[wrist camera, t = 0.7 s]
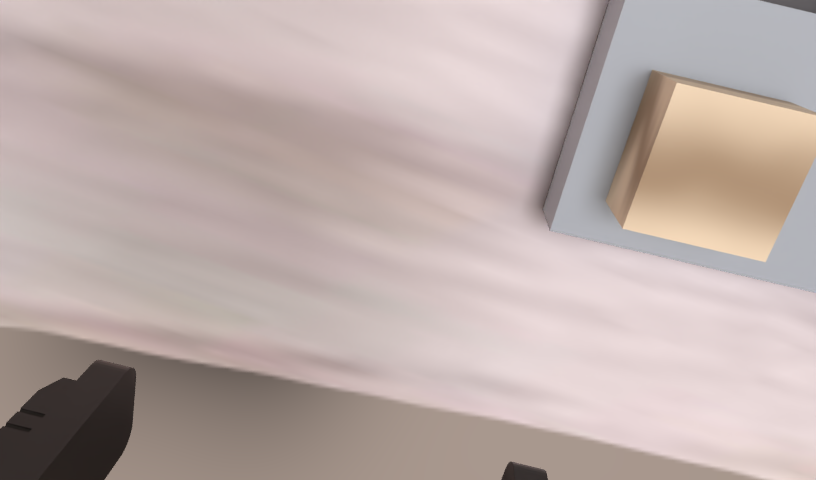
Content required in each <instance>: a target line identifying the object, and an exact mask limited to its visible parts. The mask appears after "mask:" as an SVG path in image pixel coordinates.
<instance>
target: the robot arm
mask: <svg viewBox="0 0 816 480" xmlns="http://www.w3.org/2000/svg"><path fill="white" fill-rule="evenodd" d="M135 382H136V371H135V369H134V368H131V367H126V366H123V365H119V364H114V363H110V362H106V361H102V360H96V361H95V362H94V363H93V364H92V365H91V366H90V367H89V368H88V369H87V370H86V371H85V372H84V373H83V374H82V375H81V376H80V378H79V379H78V380H77V381H75V380H71V379H67V378H62V379H60V380H58V381H56V382H54V383H52V384H50V385H48V386H46V387H44V388H42V389H40V390H38V391H37V392H36V393H35V394H34V395H33V396H32V397H31V399H30V400H28V402H26V403H25V404H24V405H23V406H22V407H21V410H20V412H17V413H16V414H15V415H14V416H13V417H12V418H11V419H10V420H9V421H8V422H7V423H6V426H5V427H4V426H3V427H2V428H1V429H0V480H104V479H105V478H106V477H107V475H108V474H109V472H110V471H111V469H112V468H113V466H114V465H115V464H116V462H117V461H118V459H119V458H120V456H121V455H122V453H123V451H124V449H125V447H126V445H127V442H128V440H129V437H130V433H131V430H132V422H133V410H134V396H135ZM502 480H548V478H547V473H546V471H545V470H543V469H539V468H535V467H531V466H527V465H523V464H519V463H515V462H509V463H508V465H507V467H506V469H505V472H504V475H503V477H502Z"/></svg>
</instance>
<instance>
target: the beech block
mask: <svg viewBox="0 0 816 480" xmlns="http://www.w3.org/2000/svg"><path fill="white" fill-rule="evenodd" d="M815 157H816V112H814V111H811V110H809V109H806V108H804V107H801V106H799V105H796V104H794V103H791V102H787V101H783V100H779V99H775V98H770V97H766V96H762V95H758V94H753V93H749V92H745V91H741V90H736V89H732V88H728V87H724V86H719V85H715V84H711V83H707V82H703V81H698V80H694V79H690V78H686V77H681V76H677V75H673V74H669V73H664V72H660V71H656V70H652V72H651V75H650V77H649V80H648V83H647V86H646V89H645V91H644V94H643V97H642V100H641V103H640V106H639V108H638V111H637V114H636V117H635V120H634V122H633V125H632V128H631V131H630V134H629V136H628V139H627V142H626V145H625V148H624V151H623V153H622V156H621V159H620V162H619V165H618V167H617V170H616V173H615V176H614V179H613V181H612V184H611V187H610V190H609V193H608V195H607V198H606V203H607V204H608V206H609V208H610V209H611V211H612V213H613V214H614V216H615V217H616V219H617V221H618V222H619V224H620V226H621V227H622V229H626V230H630V231H634V232H638V233H643V234H647V235H651V236H656V237H660V238H664V239H668V240H673V241H677V242H681V243H685V244H690V245H694V246H698V247H703V248H707V249H711V250H715V251H720V252H724V253H728V254H733V255H737V256H741V257H745V258H750V259H754V260H758V261H762V262H766V260H767V258H768V256H769V254H770V252H771V250H772V248H773V246H774V243H775V241H776V239H777V237H778V235H779V233H780V231H781V229H782V227H783V225H784V222H785V220H786V218H787V216H788V214H789V212H790V210H791V208H792V206H793V203H794V201H795V199H796V197H797V195H798V193H799V191H800V189H801V187H802V185H803V182H804V180H805V178H806V176H807V174H808V172H809V170H810V168H811V166H812V164H813V161H814V159H815Z"/></svg>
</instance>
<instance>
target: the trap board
mask: <svg viewBox="0 0 816 480" xmlns="http://www.w3.org/2000/svg"><path fill="white" fill-rule="evenodd" d="M652 70H656V71H660V72H664V73H669V74H673V75H677V76H681V77H686V78H690V79H694V80H698V81H703V82H707V83H711V84H715V85H719V86H724V87H728V88H732V89H736V90H741V91H745V92H749V93H753V94H758V95H762V96H766V97H770V98H775V99H779V100H783V101H787V102H791V103H794V104H796V105H799V106H801V107H804V108H806V109H809V110H811V111H814V112H816V0H609V3H608V6H607V9H606V12H605V16H604V19H603V22H602V25H601V28H600V31H599V34H598V38H597V41H596V44H595V47H594V50H593V53H592V56H591V60H590V63H589V66H588V69H587V72H586V75H585V78H584V82H583V85H582V88H581V91H580V94H579V97H578V101H577V104H576V107H575V110H574V113H573V116H572V119H571V123H570V126H569V129H568V132H567V135H566V138H565V141H564V145H563V148H562V151H561V154H560V157H559V160H558V163H557V167H556V170H555V173H554V176H553V179H552V182H551V185H550V189H549V192H548V195H547V198H546V201H545V204H544V208H543V211H544V214H545V217H546V220H547V223H548V227H549V230H550V231H553V232H557V233H562V234H566V235H570V236H574V237H579V238H583V239H587V240H592V241H596V242H600V243H604V244H609V245H613V246H617V247H622V248H626V249H630V250H634V251H639V252H643V253H647V254H651V255H656V256H660V257H664V258H669V259H673V260H677V261H681V262H686V263H690V264H694V265H699V266H703V267H707V268H711V269H716V270H720V271H724V272H729V273H733V274H737V275H741V276H746V277H750V278H754V279H759V280H763V281H767V282H771V283H776V284H780V285H784V286H789V287H793V288H797V289H801V290H806V291H810V292H814V293H816V157H815V159H814V161H813V164H812V166H811V168H810V170H809V172H808V174H807V176H806V178H805V180H804V182H803V185H802V187H801V189H800V191H799V193H798V195H797V197H796V199H795V201H794V203H793V206H792V208H791V210H790V212H789V214H788V216H787V218H786V220H785V222H784V225H783V227H782V229H781V231H780V233H779V235H778V237H777V239H776V241H775V243H774V246H773V248H772V250H771V252H770V254H769V256H768V258H767V260H766V262H762V261H758V260H754V259H750V258H745V257H741V256H737V255H733V254H728V253H724V252H720V251H715V250H711V249H707V248H703V247H698V246H694V245H690V244H685V243H681V242H677V241H673V240H668V239H664V238H660V237H656V236H651V235H647V234H643V233H638V232H634V231H630V230H626V229H622V227H621V226H620V224H619V222H618V221H617V219H616V217H615V216H614V214H613V213H612V211H611V209H610V208H609V206H608V204H607V203H606V198H607V195H608V193H609V190H610V187H611V184H612V181H613V179H614V176H615V173H616V170H617V167H618V165H619V162H620V159H621V156H622V153H623V151H624V148H625V145H626V142H627V139H628V136H629V134H630V131H631V128H632V125H633V122H634V120H635V117H636V114H637V111H638V108H639V106H640V103H641V100H642V97H643V94H644V91H645V89H646V86H647V83H648V80H649V77H650V75H651V72H652Z"/></svg>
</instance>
